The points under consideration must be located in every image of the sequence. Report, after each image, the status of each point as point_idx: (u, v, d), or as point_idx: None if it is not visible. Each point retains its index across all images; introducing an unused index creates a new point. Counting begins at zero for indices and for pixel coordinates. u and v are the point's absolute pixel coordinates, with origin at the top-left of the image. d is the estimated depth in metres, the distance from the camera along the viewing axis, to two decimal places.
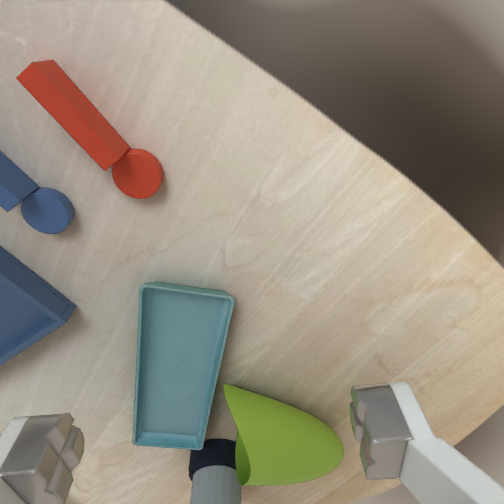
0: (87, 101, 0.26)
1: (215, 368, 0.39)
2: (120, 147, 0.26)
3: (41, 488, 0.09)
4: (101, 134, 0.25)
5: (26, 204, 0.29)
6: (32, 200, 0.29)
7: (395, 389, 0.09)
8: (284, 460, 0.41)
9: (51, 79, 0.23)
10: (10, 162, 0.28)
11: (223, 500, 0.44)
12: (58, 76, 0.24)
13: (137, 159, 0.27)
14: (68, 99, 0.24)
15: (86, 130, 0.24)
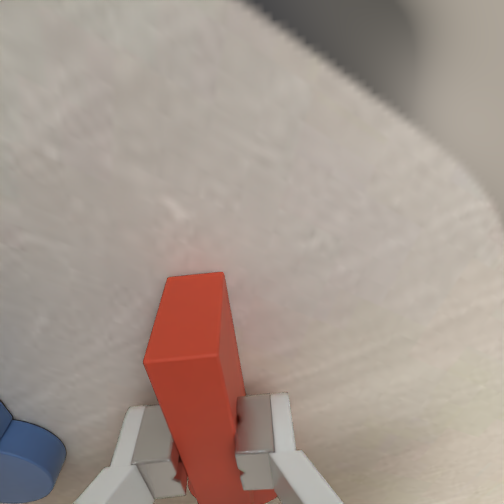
0: (238, 362, 0.11)
1: None
2: None
3: (170, 477, 0.09)
4: None
5: None
6: None
7: (273, 400, 0.09)
8: None
9: (227, 377, 0.08)
10: None
11: None
12: (228, 337, 0.09)
13: None
14: (235, 415, 0.09)
15: (229, 474, 0.10)
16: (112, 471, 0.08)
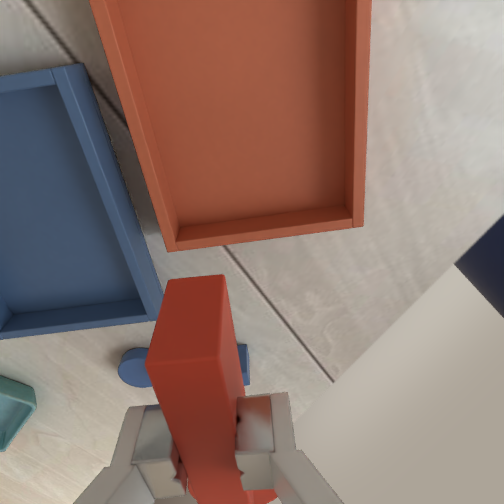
0: (238, 364, 0.11)
1: None
2: None
3: (170, 477, 0.09)
4: None
5: None
6: None
7: (273, 400, 0.09)
8: None
9: (228, 380, 0.08)
10: None
11: None
12: (229, 339, 0.09)
13: None
14: (235, 417, 0.09)
15: (229, 476, 0.10)
16: (112, 471, 0.08)
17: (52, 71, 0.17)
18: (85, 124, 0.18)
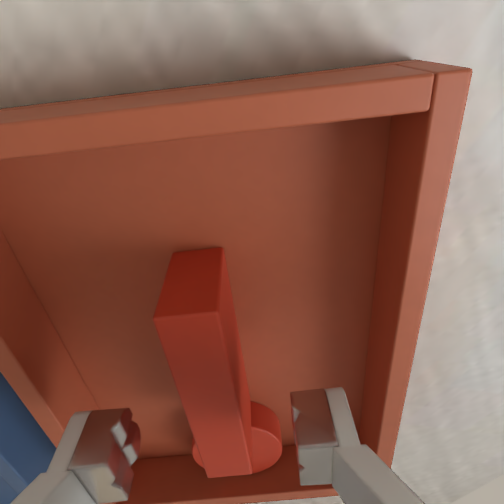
0: (237, 333, 0.12)
1: None
2: (250, 426, 0.13)
3: (109, 482, 0.09)
4: (246, 430, 0.11)
5: None
6: None
7: (329, 395, 0.09)
8: None
9: (227, 337, 0.09)
10: None
11: None
12: (227, 304, 0.10)
13: (259, 438, 0.14)
14: (234, 373, 0.10)
15: (229, 430, 0.11)
16: (47, 477, 0.08)
17: None
18: None
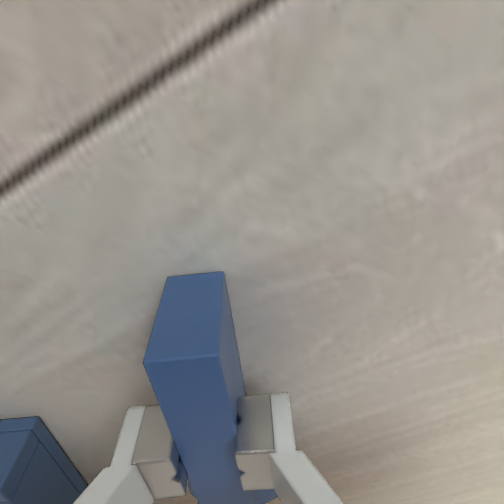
0: None
1: None
2: None
3: (170, 477, 0.09)
4: None
5: None
6: None
7: (273, 400, 0.09)
8: None
9: None
10: (244, 390, 0.12)
11: None
12: None
13: None
14: None
15: None
16: (112, 471, 0.08)
17: None
18: None
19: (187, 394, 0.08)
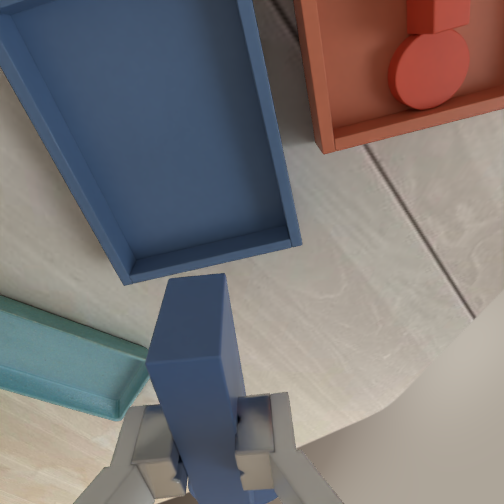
0: None
1: (1, 380, 0.30)
2: None
3: (170, 477, 0.09)
4: None
5: None
6: None
7: (273, 400, 0.09)
8: None
9: None
10: (244, 391, 0.12)
11: None
12: None
13: (454, 44, 0.18)
14: None
15: None
16: (112, 471, 0.08)
17: None
18: None
19: (189, 395, 0.08)
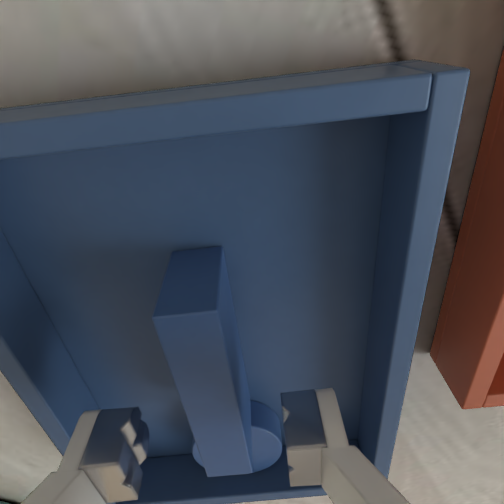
0: None
1: None
2: None
3: (119, 481, 0.09)
4: None
5: None
6: None
7: (319, 396, 0.09)
8: None
9: None
10: (242, 360, 0.13)
11: None
12: None
13: None
14: None
15: None
16: (58, 476, 0.08)
17: (435, 79, 0.07)
18: (443, 199, 0.08)
19: (190, 348, 0.09)
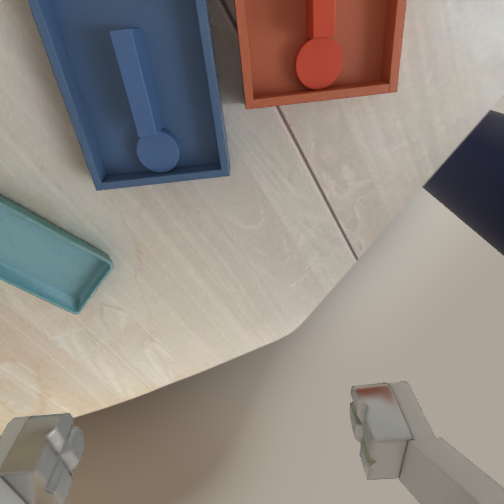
0: None
1: None
2: None
3: (41, 488, 0.09)
4: (333, 3, 0.25)
5: (148, 136, 0.31)
6: (156, 136, 0.31)
7: (395, 389, 0.09)
8: None
9: None
10: (156, 96, 0.30)
11: None
12: None
13: (332, 48, 0.28)
14: None
15: None
16: None
17: None
18: None
19: (123, 47, 0.26)
